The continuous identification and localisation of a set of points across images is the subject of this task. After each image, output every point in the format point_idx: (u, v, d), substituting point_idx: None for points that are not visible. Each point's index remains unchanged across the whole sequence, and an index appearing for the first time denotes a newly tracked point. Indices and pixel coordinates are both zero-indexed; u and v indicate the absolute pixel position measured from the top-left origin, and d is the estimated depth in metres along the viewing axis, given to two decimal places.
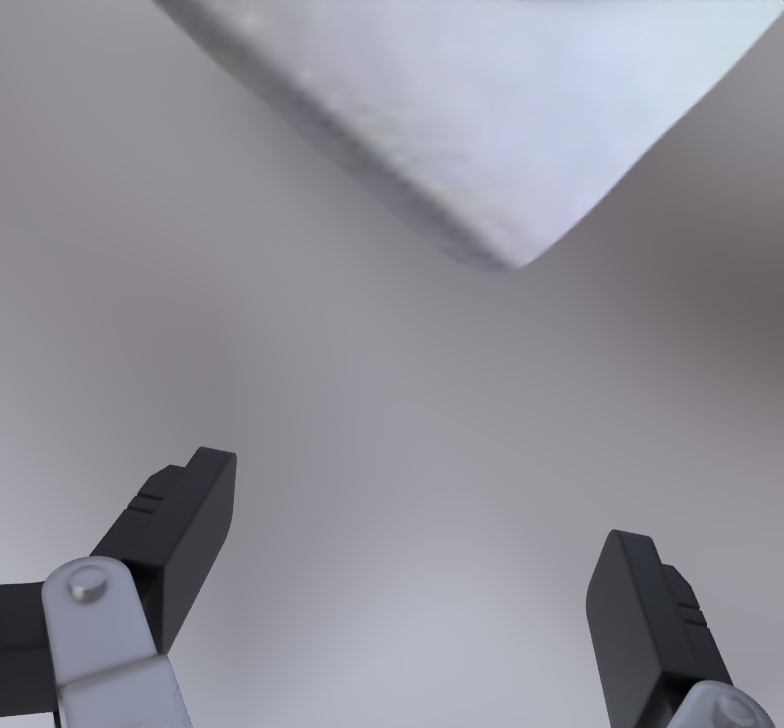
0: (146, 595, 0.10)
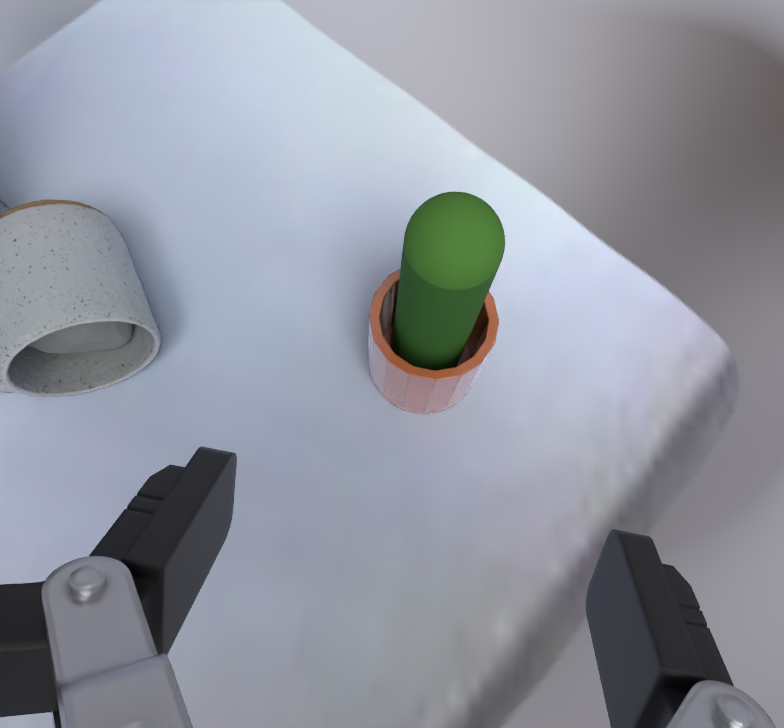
0: (146, 595, 0.10)
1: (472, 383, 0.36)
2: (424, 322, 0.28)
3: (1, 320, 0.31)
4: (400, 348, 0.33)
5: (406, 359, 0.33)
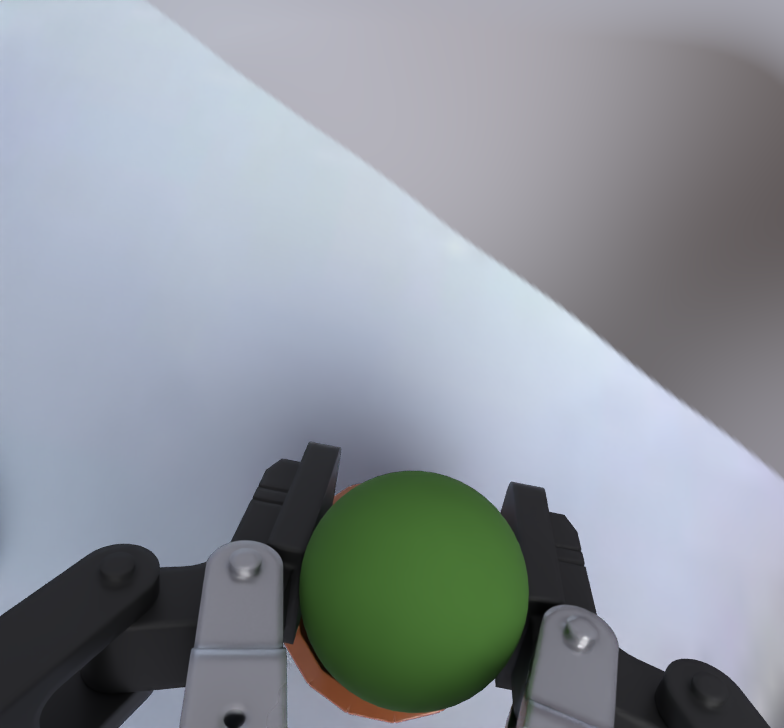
0: (290, 578, 0.11)
1: None
2: None
3: None
4: None
5: None
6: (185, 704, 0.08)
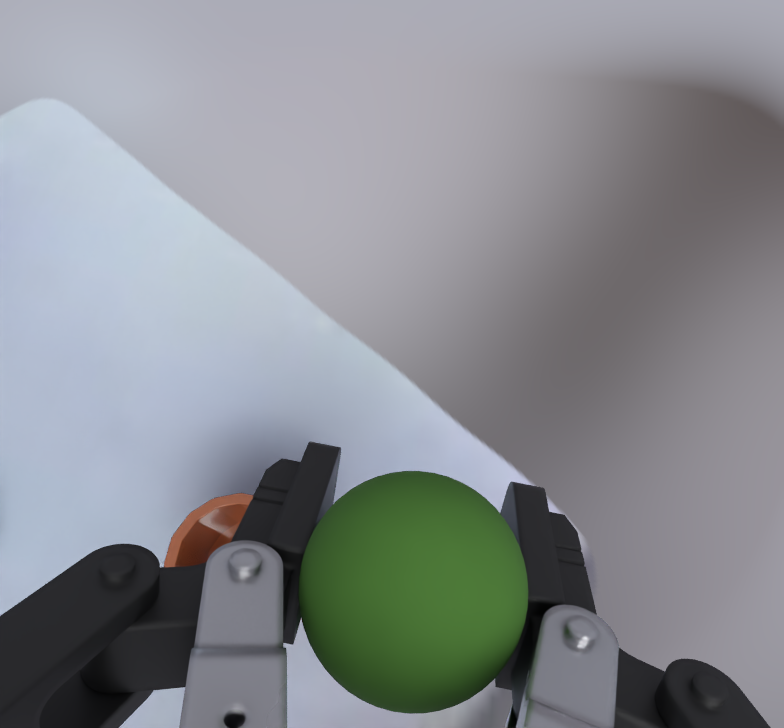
0: (290, 577, 0.11)
1: None
2: None
3: None
4: None
5: None
6: (185, 704, 0.08)
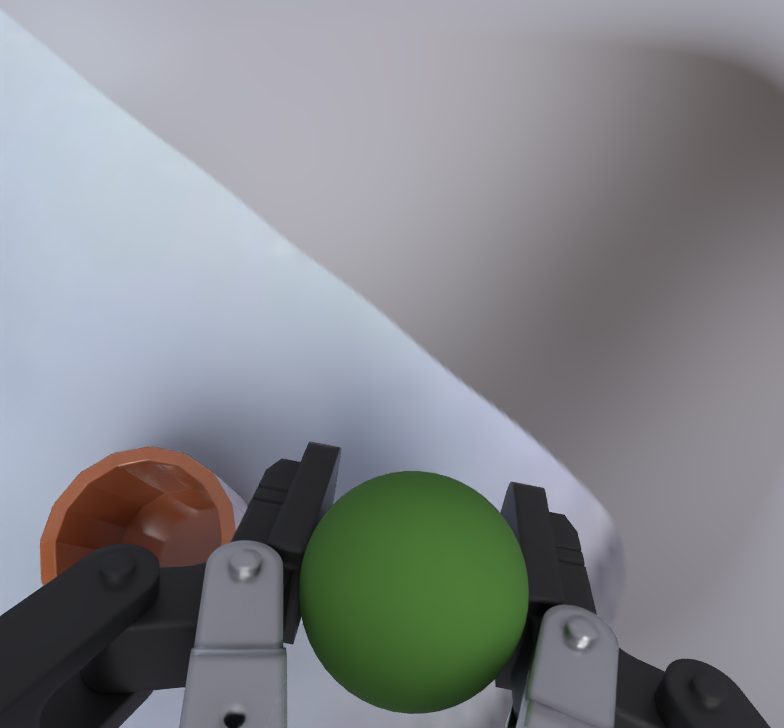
0: (290, 578, 0.11)
1: None
2: None
3: None
4: None
5: None
6: (185, 704, 0.08)
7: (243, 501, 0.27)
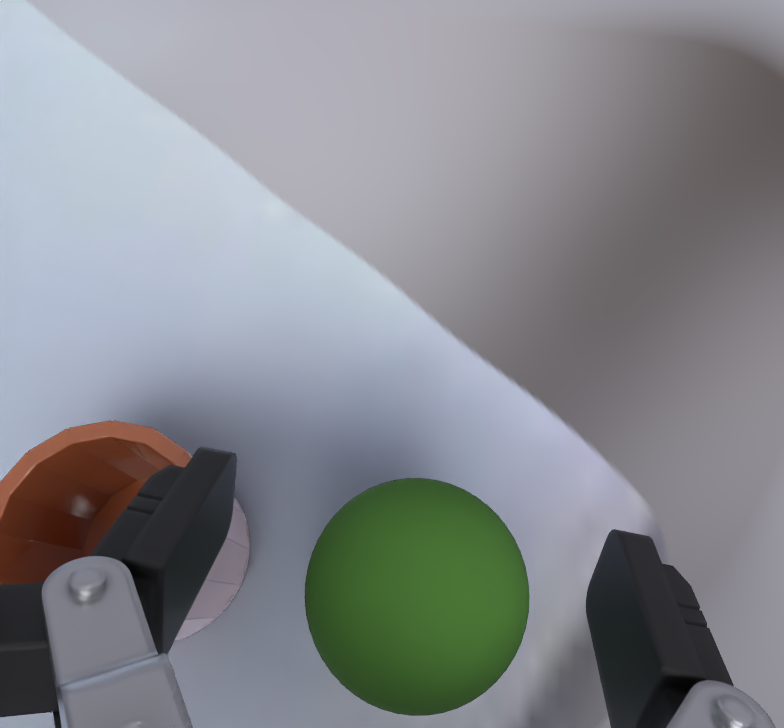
0: (146, 595, 0.10)
1: (226, 598, 0.22)
2: None
3: None
4: None
5: None
6: None
7: None
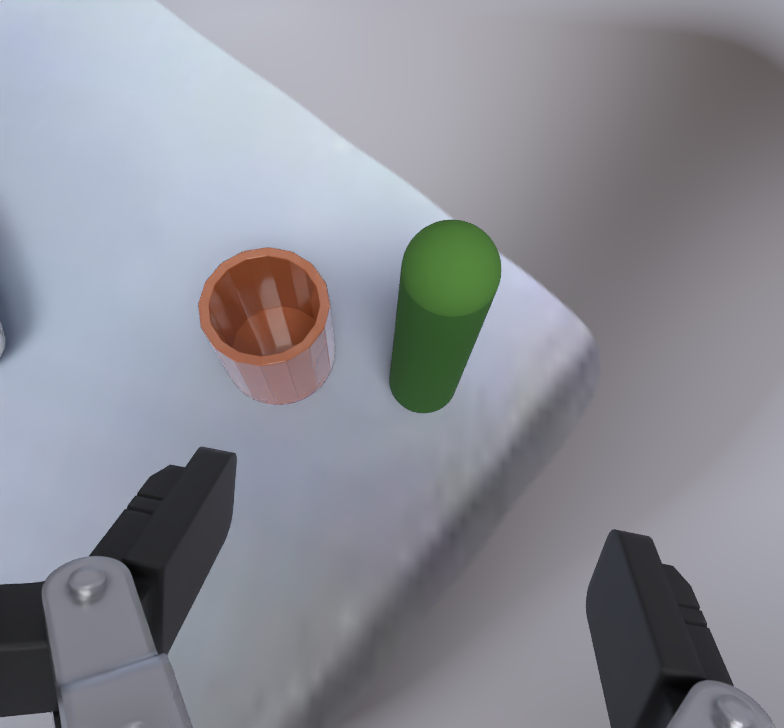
0: (146, 595, 0.10)
1: (324, 372, 0.36)
2: (423, 347, 0.28)
3: None
4: (399, 372, 0.33)
5: (405, 383, 0.34)
6: None
7: None
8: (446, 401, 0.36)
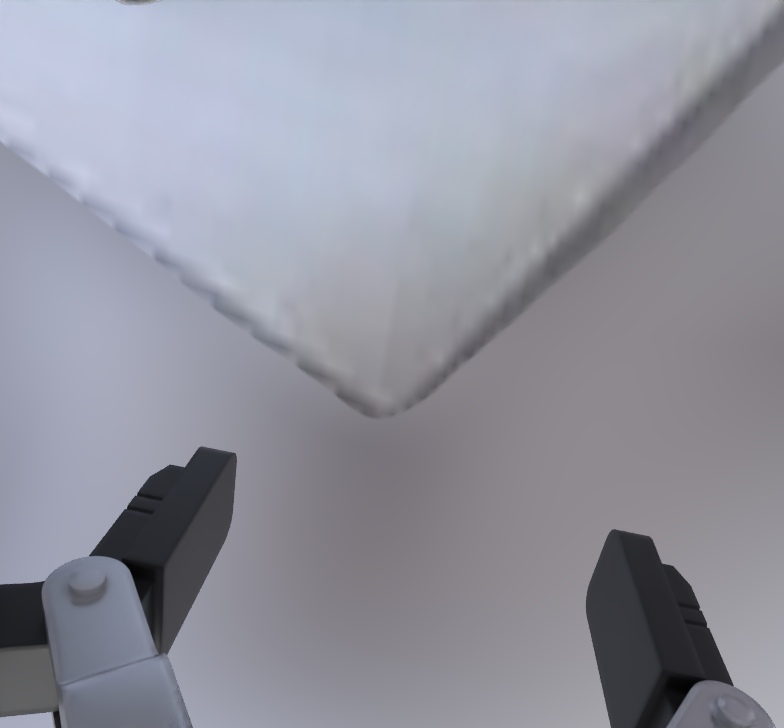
0: (146, 595, 0.10)
1: None
2: None
3: None
4: None
5: None
6: None
7: None
8: None
